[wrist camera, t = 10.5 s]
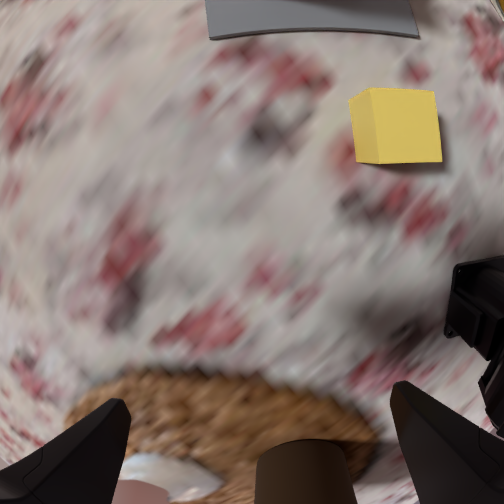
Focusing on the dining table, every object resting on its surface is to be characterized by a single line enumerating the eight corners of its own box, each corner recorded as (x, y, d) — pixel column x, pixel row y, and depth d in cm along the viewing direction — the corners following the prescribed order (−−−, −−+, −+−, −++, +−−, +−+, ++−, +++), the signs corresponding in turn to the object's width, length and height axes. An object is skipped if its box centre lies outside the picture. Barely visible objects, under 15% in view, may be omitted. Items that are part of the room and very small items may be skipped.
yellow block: (403, 100, 16) (433, 91, 13) (410, 159, 18) (442, 161, 14) (347, 100, 17) (369, 87, 13) (356, 162, 18) (379, 163, 14)
